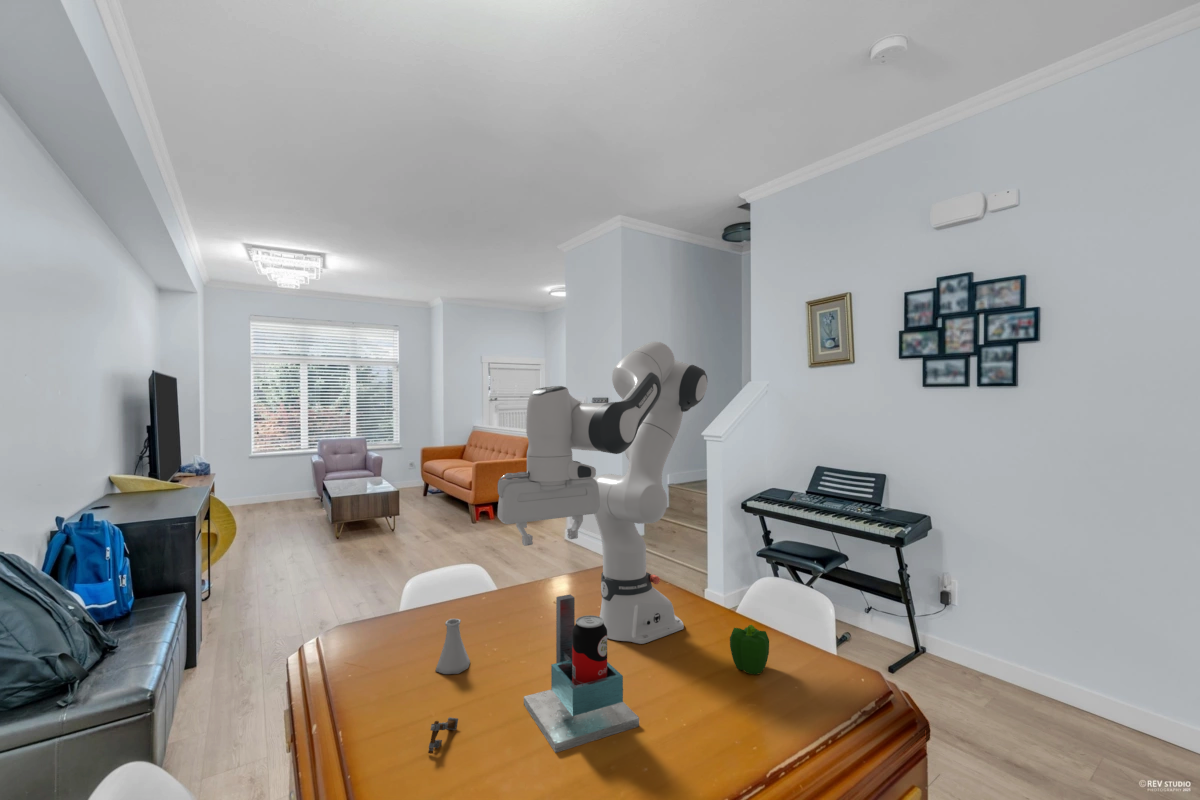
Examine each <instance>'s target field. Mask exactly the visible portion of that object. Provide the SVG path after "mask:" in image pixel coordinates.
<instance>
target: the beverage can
mask: <svg viewBox="0 0 1200 800" xmlns="http://www.w3.org/2000/svg"><path fill="white" fill-rule="evenodd" d="M607 662H608V638H607V628H606V627H605V625H604V620H603V619H602V618H601V617H600V616H598V615H582V616H579V617H577V618H576V619H575V626H574V628H573V631H572V683H573V684H574V685H575V686H576V685H580V684H584V683H588V682H591V681H595V680H599V679H603V678H607Z"/></svg>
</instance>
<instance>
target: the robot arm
mask: <svg viewBox="0 0 1200 800" xmlns="http://www.w3.org/2000/svg"><path fill="white" fill-rule="evenodd" d="M611 381H612V387H613V388H614V390H615V392H616V393H617V394H618V396H620V397H621V399H622V400H620V401H612V402H591V403H590V402H589V403H588V402H582V401H580V400H578V399H576V398H575V397H573V396H572V395H571V394H570V391H569V389H568V387H566V386H562V385H553V386H545V387H544V386H543V387H540V388H536V389H535V390H533V391H532V392H530V394H529V397H528V400H527V401H528V402H527V405H526V418H525V421H526V422H525V425H526V427H525V428H526V430H525V431H526V436H527V439H528V440H527V441H528V447H527V451H526V471H518V472H507V473H505V474H504V475H503V476H501V477H500V478H499V479H498V481H497V494H498V496H499V497H498V504H497V518H498V519H499V520H500V522H501V523H503V524H505V525H513V524H515V525H516V526H515V527H516V528H517V530H518V532H519V533H520V534H521V536H522V537H521V542H522V543H521V544H522V545H523V546H524V547H528V546H533V543H534V542H533V539H534V537H533V535H532V534H530V533H527V531H526V529H527V528H528V523H529V522H538V521H547V520H553V519H564V518H570V517H571V518H572V519H571V520H573V523H572V525H571V527H570V528H567V531H566V532H567V538H568V539H569V540H576V539H578V537H579V529H580V527H581V525H582V524H583V522H584V521H583V520H584V516H587V515H594V517H595V521H596V523H597V527H598V531H599V534H600V538H601V546H602V573H601V578H600V580H601V581H600V582H601V583H600V591H601V592H600V593H601V605H600V611H599V612H600V614H599V617H601V618H602V619H603V620H604V625H605V627H606V628H607V639H609V640H613V641H618V642H619V641H621V642H630V643H631V642H632V643H634V644H639V645H641V644H642V645H643V644H646V643H649V642H652V641H655V640H658V639H660V638H663V637H666V636H669V635H672V634H673V633H676V632H679V631H681V630H684V627H685V626H684V622H683V621H682V619H680V617H678V616H677V615H675V610H674V605H673V603H672V601H671V600H670V599H669V598H668V597H667V596H665V595H664V594H663V593H661V592H660V591H659V590H657V589H656V588H655V587H653V584H654V585H659V584H660V582H661V578H660V577H659V576H658V575H656V574H651V573H650V572H647V545H646V541H645V539H644V538H643V536H642V535H641V534H640V533H639V531H638V528H637V527H636V524H637V525H638V524H641V525H642V524H643V525H644V524H645V525H646V524H654V523H657V522H659V521H661V519H662V518H663V516H664V515H665V514H666V511H667V508H668V497H667V493H666V490H665V488H664V487H663V482H662V479H663V471H664V466H665V464H666V461H667V459H668V457H669V454H670V452H671V450H672V448H673V445H674V443H675V441H676V439H677V436H678V433H679V430H680V427H681V424H682V420H683V415H684V413H685V412H689V410H690V409H691V408H694V407H695V406H696V405H698V404H699V403H701V401H702V400H703V399H704V397H705V394H706V392H707V388H708V375H707V373H706V371H705V370H704V369H702V368H701V367H699V366H697V365H695V364H687V363H685V362H683V361H679V360H675V355H674V353H673V351H672V349H671V348H670V347H669V345H667V344H665V343H663V342H661V341H651V342H648V343H644V344H643V345H641V346H639V347H637V348H635V349H633V350H631V352H629V353H628V354H626V355H625V356H623V357H622V358H621V359H620V360H619V362H617V363H616V364H615V366H614V368H613V369H612V373H611ZM573 450H581V451H592V452H602V453H609V454H613V455H619V454H623V453H624V454H625V457H626V459H627V460H628V467H627V470H626V473H624V475H621V474H615V473H614V474H613V473H605V474H600V475H597V473H596V472H597V469H596V467H594V466H592V465H589V464H585V463H582V462H581V461H576V460H573ZM596 475H597V476H596ZM652 583H653V584H652Z"/></svg>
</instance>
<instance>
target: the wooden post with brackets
mask: <svg viewBox="0 0 1200 800" xmlns="http://www.w3.org/2000/svg"><path fill="white" fill-rule="evenodd" d="M458 723H459V718H457V717H448V718H447V721H445V722H444V721H443V722H440V721H439V720H435V721H434V722H433V723H431V726H430V731H431V738H430V742H429V744H428V751H427V753H428V754H434V751H435V750H434V749H440V748H439V747H442V743H443V740H442V739H436V738H437V736H438V735H439V731H445V730H448V731H449V730H452V731H456V730H457V729H458V728H457V727H458Z"/></svg>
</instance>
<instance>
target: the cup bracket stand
mask: <svg viewBox="0 0 1200 800" xmlns="http://www.w3.org/2000/svg"><path fill="white" fill-rule="evenodd" d="M555 598H556V599H555V603H556V604H555V605H556V609H555V610H556V613H555V614H556V617H555V618H556V620H555V622H556V623H555V624H556V625H555V627H556V629H555V630H556V631H555V633H556V637H555V639H556V642H555V644H556V648H555V651H556V653H555V655H556V656H555V658H556V659H555V660H556V661H555V662H556V663H552V664H551V665H550V666H551V676H550V677H551V679H550V680H551V681H550V682H551V688H550V689H548V690H544V691H539V692H536V693H535V692H534V693H532V694H528V695H524V696H523V706H524V707H525V709H526V710H527V711H528V713H529V714H530V716H531V718H532V719H533V721H534V722H535V724H536V725H537V727H538V729H539V730H540V731H541V733H542V735H543V737H544V738H545V740H547V742H548V745H550V747H551V748H552V750H553V752H554V753H555V754H557V753H559V752H563V751H566V750H569V749H572V748H575V747H578V746H581V745H585V744H589V743H591V742H594V741H597V740H601V739H605V738H606V737H610V736H613V735H616V734H619V733H622V732H626V731H629V730H632V729H636V728H638V727H640V717H639V716H638V715H637V713H635V712H634V711H633V709H631V707H629V706H628V705H627V704H626V703H625V702H624V676H623V674H621V672H619V671H618V670H617V669H616V668H615V667H614V666H613V665H611V663H610V662H608V661H607V678H603V679H599V680H595V681H591V682H588V683H584V684H580V685H576V686H575V685H574V684H573V683H572V631H573V628H574V626H575V624H576V619H575V617H576V616H575V614H576V613H575V610H576V609H575V597H574V596H573V595H572V594H570V593H569V594H566V595H558V596H556V597H555Z"/></svg>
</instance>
